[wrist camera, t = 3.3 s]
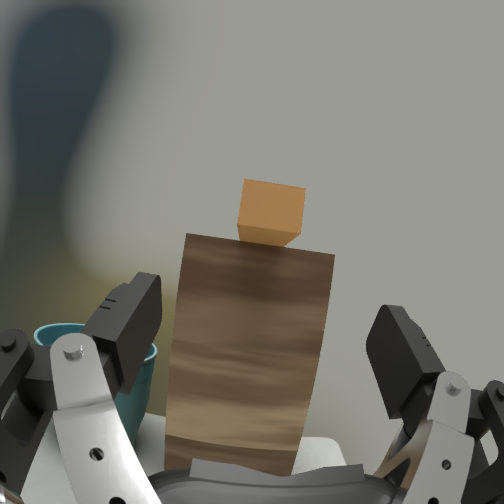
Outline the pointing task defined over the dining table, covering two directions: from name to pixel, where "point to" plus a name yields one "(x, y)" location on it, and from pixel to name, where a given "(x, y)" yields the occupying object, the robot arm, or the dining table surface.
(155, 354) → the flower pot
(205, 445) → the block tower
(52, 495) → the dining table surface
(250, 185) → the light orange bar
